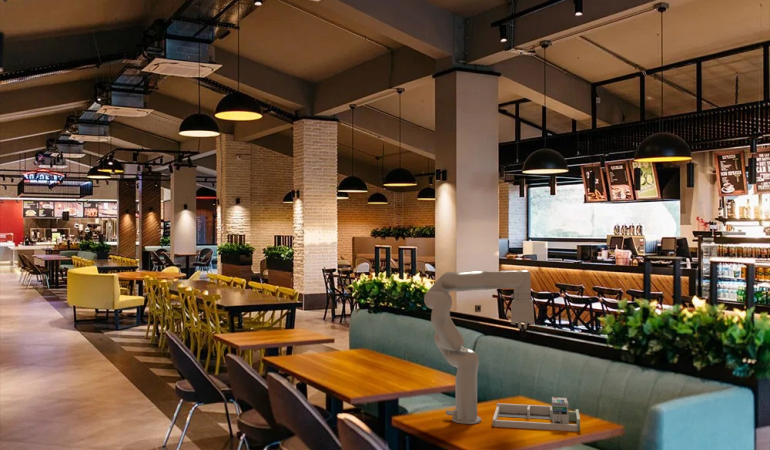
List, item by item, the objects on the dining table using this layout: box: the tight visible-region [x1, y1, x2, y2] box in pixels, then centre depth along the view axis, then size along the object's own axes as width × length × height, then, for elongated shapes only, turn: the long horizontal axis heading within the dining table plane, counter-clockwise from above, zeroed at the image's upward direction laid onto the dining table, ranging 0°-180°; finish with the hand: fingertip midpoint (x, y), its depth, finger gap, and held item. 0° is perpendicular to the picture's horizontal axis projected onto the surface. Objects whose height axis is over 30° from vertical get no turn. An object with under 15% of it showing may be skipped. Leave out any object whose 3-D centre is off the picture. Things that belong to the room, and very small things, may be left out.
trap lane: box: [492, 402, 581, 432], centre depth 300 cm, size 36×25×5 cm
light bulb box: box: [551, 396, 570, 424], centre depth 294 cm, size 11×7×11 cm, turn 169°
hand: (522, 337), depth 313 cm, fingers closed
